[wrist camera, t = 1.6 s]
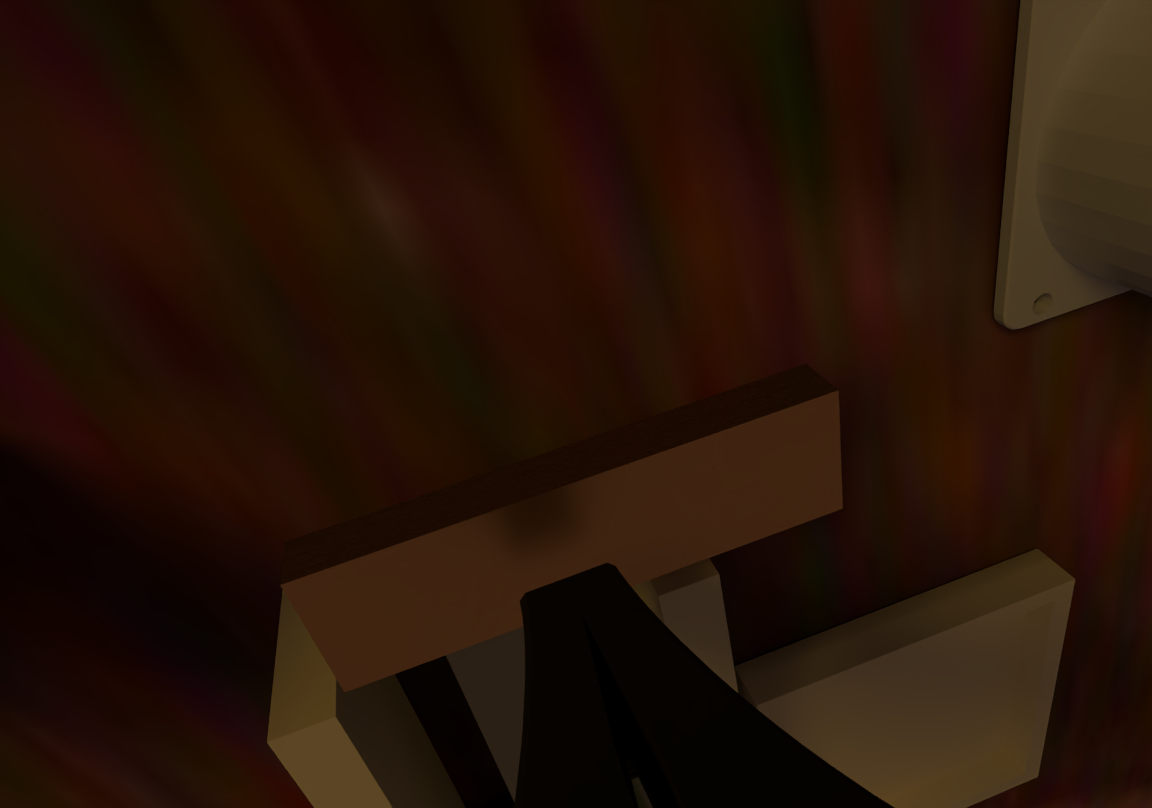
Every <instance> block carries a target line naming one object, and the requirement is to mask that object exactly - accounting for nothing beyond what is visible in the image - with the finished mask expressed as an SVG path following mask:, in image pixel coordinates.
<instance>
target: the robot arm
mask: <svg viewBox="0 0 1152 808" xmlns="http://www.w3.org/2000/svg"><path fill="white" fill-rule="evenodd" d="M1130 290H1135V291H1137V292H1140V293H1142V294H1145V295H1148V296H1150V297H1152V0H1021V1H1020V12H1019V24H1018V35H1017V47H1016V59H1015V70H1014V82H1013V93H1012V105H1011V117H1010V128H1009V140H1008V151H1007V163H1006V175H1005V186H1004V198H1003V209H1002V221H1001V232H1000V244H999V256H998V267H997V279H996V290H995V302H994V318H995V320H996V321H997V322H998V323H999V324H1001V325H1003V326H1005V327H1007V328H1009V329H1012V330H1015V329H1021V328H1024V327H1027V326H1029V325H1032V324H1035V323H1038V322H1041V321H1044V320H1047V319H1049V318H1052V317H1055V316H1058V315H1061V314H1064V313H1067V312H1070V311H1072V310H1075V309H1078V308H1081V307H1084V306H1087V305H1090V304H1092V303H1095V302H1098V301H1101V300H1104V299H1107V298H1110V297H1112V296H1115V295H1118V294H1121V293H1124V292H1127V291H1130ZM1037 298H1038V300H1037V301H1036V299H1037ZM1035 301H1036V302H1035ZM1034 302H1035V304H1034ZM520 606H521V611H522V618H523V628H524V641H525V690H524V710H523V730H522V742H521V751H520V760H519V769H518V778H517V787H516V795H515V804H514V808H639V807H638V803H637V799H636V796H635V792H634V788H633V785H632V781H631V777H630V774H629V770H628V766H627V762H626V759H625V755H624V751H623V748H622V744H623V746H624V748H625V750H626V752H627V754H628V757H629V759H630V761H631V763H632V765H633V767H634V769H635V771H636V773H637V776H638V778H639V780H640V782H641V784H642V786H643V788H644V790H645V793H646V795H647V797H648V799H649V801H650V803H651V805H652V807H653V808H895V807H893V806H891V805H890V804H888V803H887V802H885V801H883V800H882V799H880V798H879V797H877V796H875V795H874V794H872V793H871V792H869V791H868V790H866V789H865V788H863V787H862V786H861V785H859V784H858V783H856V782H855V781H853V780H852V779H850V778H849V777H847V776H846V775H845V774H843V773H842V772H840V771H839V770H837V769H836V768H834V767H833V766H831V765H830V764H829V763H827V762H826V761H824V760H823V759H822V758H820V757H819V756H818V755H816V754H815V753H813V752H812V751H811V750H809V749H808V748H807V747H805V746H804V745H803V744H801V743H800V742H798V741H797V740H796V739H794V738H793V737H792V736H791V735H789V734H788V733H787V732H785V731H784V730H783V729H781V728H780V727H779V726H778V725H776V724H775V723H774V722H773V721H771V720H770V719H769V718H768V717H766V716H765V715H764V714H763V713H761V712H760V711H759V710H758V709H756V708H755V707H754V706H753V705H752V704H751V703H749V702H748V701H747V700H746V699H745V698H743V697H742V696H741V695H740V694H739V693H737V692H736V691H735V690H734V689H733V688H731V687H730V686H729V685H728V684H727V683H726V682H725V681H724V680H722V679H721V678H720V677H719V676H718V675H717V674H716V673H715V672H713V671H712V670H711V669H710V668H709V667H708V666H707V665H706V664H705V663H704V662H703V661H702V660H701V659H700V658H699V657H697V656H696V655H695V654H694V653H693V652H692V651H691V650H690V649H689V648H688V647H687V646H686V645H685V644H684V643H683V642H682V641H681V640H680V639H679V638H678V637H677V636H676V635H675V634H674V633H673V632H672V631H671V630H670V629H669V628H668V627H667V626H666V625H665V624H664V623H663V622H662V621H661V620H660V619H659V618H658V617H657V616H656V615H655V613H654V612H653V611H652V610H651V609H650V608H649V607H648V606H647V605H646V604H645V602H644V601H643V600H642V599H641V598H640V597H639V596H638V594H637V593H636V592H635V591H634V590H633V588H632V587H631V586H630V585H629V583H628V582H627V581H626V579H625V578H624V577H623V576H622V574H621V573H620V571H619V570H618V568H617V567H616V566H614V565H612V564H609V563H605V564H602V565H599V566H597V567H594V568H591V569H588V570H586V571H583V572H580V573H578V574H575V575H572V576H569V577H567V578H564V579H561V580H559V581H556V582H553V583H550V584H548V585H545V586H542V587H540V588H537V589H534V590H531V591H529V592H526V593H525V594H524V595H523V597H522V598H521V600H520ZM621 742H622V744H621Z"/></svg>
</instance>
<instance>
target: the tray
mask: <svg viewBox="0 0 1152 808" xmlns="http://www.w3.org/2000/svg"><path fill="white" fill-rule="evenodd" d="M1074 584H1075V578H1073V577H1072V576H1071V575H1070V574H1068V573H1067V572H1066V571H1065V570H1063V569H1062V568H1061V567H1060V566H1058V565H1057V564H1056V563H1055V562H1054V561H1052V560H1051V559H1050V558H1049V557H1047V556H1046V555H1045V554H1044V553H1042V552H1041V551H1040V550H1039V549H1034V550H1032V551H1029V552H1027V553H1024V554H1022V555H1019V556H1016V557H1014V558H1011V559H1009V560H1006V561H1004V562H1001V563H998V564H996V565H993V566H991V567H988V568H986V569H983V570H980V571H978V572H975V573H973V574H970V575H968V576H965V577H962V578H960V579H957V580H955V581H952V582H950V583H947V584H944V585H942V586H939V587H937V588H934V589H932V590H929V591H927V592H924V593H921V594H919V595H916V596H914V597H911V598H909V599H906V600H903V601H901V602H898V603H896V604H893V605H891V606H888V607H885V608H883V609H880V610H878V611H875V612H873V613H870V614H867V615H865V616H862V617H860V618H857V619H855V620H852V621H849V622H847V623H844V624H842V625H839V626H837V627H834V628H831V629H829V630H826V631H824V632H821V633H819V634H816V635H813V636H811V637H808V638H806V639H803V640H801V641H798V642H795V643H793V644H790V645H788V646H785V647H783V648H780V649H778V650H775V651H772V652H770V653H767V654H765V655H762V656H760V657H757V658H754V659H752V660H749V661H747V662H744V663H742V664H739V665H736V666H734V669H735V675H736V681H737V688H738V693H739V694H740V695H741V696H742V697H743V698H745V699H746V700H747V701H748V702H749V703H751V704H752V705H753V706H754V707H755V708H756V709H758V710H759V711H760V712H761V713H763V714H764V715H765V716H766V717H768V718H769V719H770V720H771V721H773V722H774V723H775V724H776V725H778V726H779V727H780V728H781V729H783V730H784V731H785V732H787V733H788V734H789V735H791V736H792V737H793V738H794V739H796V740H797V741H798V742H800V743H801V744H803V745H804V746H805V747H807V748H808V749H809V750H811V751H812V752H813V753H815V754H816V755H818V756H819V757H820V758H822V759H823V760H824V761H826V762H827V763H829V764H830V765H831V766H833V767H834V768H836V769H837V770H839V771H840V772H842V773H843V774H845V775H846V776H847V777H849V778H850V779H852V780H853V781H855V782H856V783H858V784H859V785H861V786H862V787H863V788H865V789H866V790H868V791H869V792H871V793H872V794H874V795H875V796H877V797H879V798H880V799H882V800H883V801H885V802H887V803H888V804H890V805H891V806H893V807H895V808H966V807H969V806H971V805H973V804H976V803H978V802H980V801H983V800H985V799H987V798H990V797H992V796H994V795H997V794H999V793H1001V792H1004V791H1006V790H1008V789H1011V788H1013V787H1015V786H1017V785H1020V784H1022V783H1024V782H1027V781H1029V780H1031V779H1034V778H1036V777H1038V773H1039V768H1040V763H1041V758H1042V752H1043V747H1044V742H1045V736H1046V731H1047V726H1048V721H1049V715H1050V710H1051V705H1052V700H1053V694H1054V689H1055V684H1056V678H1057V673H1058V668H1059V663H1060V657H1061V652H1062V647H1063V642H1064V636H1065V631H1066V626H1067V620H1068V615H1069V610H1070V605H1071V599H1072V594H1073V589H1074Z"/></svg>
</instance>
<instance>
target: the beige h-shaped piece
mask: <svg viewBox="0 0 1152 808" xmlns="http://www.w3.org/2000/svg"><path fill="white" fill-rule="evenodd" d="M632 588H633V590H634V591H635V592H636V593H637V594H638V596H639V597H640V598H641V599H642V600H643V601H644V602H645V604H646V605H647V606H648V607H649V608H650V609H651V610H652V611H653V612H654V613H655V615H656V616H657V617H658V618H659V619H660V620H661V621H662V622H663V623H664V624H665V625H666V626H667V627H668V628H669V629H670V630H671V631H672V632H673V633H674V634H675V635H676V636H677V637H678V638H679V639H680V640H681V641H682V642H683V643H684V644H685V645H686V646H687V647H688V648H689V649H690V650H691V651H692V652H693V653H694V654H695V655H696V656H697V657H699V658H700V659H701V660H702V661H703V662H704V663H705V664H706V665H707V666H708V667H709V668H710V669H711V670H712V671H713V672H715V673H716V674H717V675H718V676H719V677H720V678H721V679H722V680H724V681H725V682H726V683H727V684H728V685H729V686H730V687H731V688H733V689H734V690H735V691H736V692H737V693H738V688H737V682H736V676H735V670H734V663H733V657H732V651H731V645H730V639H729V632H728V626H727V620H726V614H725V608H724V601H723V595H722V589H721V583H720V577H719V573H718V571H717V570H716V568H715V567H714V565H713V564H712V562H711V561H710V559H709V558H707V559H705V560H702V561H699V562H697V563H694V564H691V565H688V566H686V567H683V568H680V569H678V570H675V571H672V572H670V573H667V574H664V575H661V576H659V577H656V578H653V579H651V580H648V581H645V582H642V583H640V584H637V585H634V586H632ZM267 743H268V744H269V746H270V747H271V749H272V750H273V751H274V753H275V754H276V756H277V757H278V758H279V760H280V761H281V762H282V764H283V765H284V767H285V768H286V769H287V771H288V772H289V773H290V775H291V776H292V778H293V779H294V780H295V782H296V783H297V784H298V786H299V787H300V789H301V790H302V791H303V793H304V794H305V796H306V797H307V798H308V800H309V801H310V802H311V804H312V805H313V807H314V808H466V807H465V805H464V803H463V801H462V800H461V798H460V796H459V794H458V792H457V790H456V788H455V786H454V785H453V783H452V781H451V779H450V777H449V775H448V773H447V771H446V769H445V768H444V766H443V764H442V762H441V760H440V758H439V756H438V754H437V753H436V751H435V749H434V747H433V745H432V743H431V741H430V739H429V738H428V736H427V734H426V732H425V730H424V728H423V726H422V724H421V722H420V721H419V719H418V717H417V715H416V713H415V711H414V709H413V707H412V706H411V704H410V702H409V700H408V698H407V696H406V694H405V692H404V691H403V689H402V687H401V685H400V683H399V681H398V679H397V677H396V675H395V674H393V675H391V676H388V677H385V678H383V679H380V680H377V681H375V682H372V683H369V684H366V685H364V686H361V687H358V688H356V689H353V690H350V691H347V692H344V691H343V689H342V687H341V686H340V684H339V682H338V681H337V679H336V677H335V676H334V674H333V672H332V671H331V669H330V667H329V666H328V664H327V662H326V661H325V659H324V657H323V656H322V654H321V652H320V651H319V649H318V647H317V646H316V644H315V642H314V641H313V639H312V637H311V636H310V634H309V632H308V631H307V629H306V627H305V626H304V624H303V622H302V621H301V619H300V617H299V616H298V614H297V612H296V611H295V609H294V607H293V606H292V604H291V602H290V601H289V599H288V597H287V596H286V594H285V592H284V591H282V601H281V611H280V620H279V630H278V640H277V650H276V659H275V669H274V679H273V689H272V698H271V708H270V718H269V728H268V737H267Z"/></svg>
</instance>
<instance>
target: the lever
mask: <svg viewBox="0 0 1152 808" xmlns="http://www.w3.org/2000/svg"><path fill="white" fill-rule="evenodd" d="M840 509H843V499H842V471H841V443H840V415H839V390H838V389H836V388H835V387H834V386H833V385H831V384H830V383H829V382H828V381H827V380H825V379H824V378H823V377H822V376H820V375H819V374H818V373H817V372H816V371H814V370H813V369H812V368H811V367H809V366H808V365H807V364H804V365H801V366H798V367H795V368H792V369H789V370H786V371H783V372H780V373H777V374H774V375H772V376H769V377H766V378H763V379H760V380H757V381H754V382H751V383H748V384H745V385H742V386H739V387H736V388H734V389H731V390H728V391H725V392H722V393H719V394H716V395H713V396H710V397H707V398H704V399H701V400H699V401H696V402H693V403H690V404H687V405H684V406H681V407H678V408H675V409H672V410H669V411H666V412H663V413H661V414H658V415H655V416H652V417H649V418H646V419H643V420H640V421H637V422H634V423H631V424H628V425H626V426H623V427H620V428H617V429H614V430H611V431H608V432H605V433H602V434H599V435H596V436H593V437H590V438H588V439H585V440H582V441H579V442H576V443H573V444H570V445H567V446H564V447H561V448H558V449H555V450H553V451H550V452H547V453H544V454H541V455H538V456H535V457H532V458H529V459H526V460H523V461H520V462H518V463H515V464H512V465H509V466H506V467H503V468H500V469H497V470H494V471H491V472H488V473H485V474H482V475H480V476H477V477H474V478H471V479H468V480H465V481H462V482H459V483H456V484H453V485H450V486H447V487H445V488H442V489H439V490H436V491H433V492H430V493H427V494H424V495H421V496H418V497H415V498H412V499H409V500H407V501H404V502H401V503H398V504H395V505H392V506H389V507H386V508H383V509H380V510H377V511H374V512H372V513H369V514H366V515H363V516H360V517H357V518H354V519H351V520H348V521H345V522H342V523H339V524H336V525H334V526H331V527H328V528H325V529H322V530H319V531H316V532H313V533H310V534H307V535H304V536H301V537H299V538H296V539H293V540H290V541H287V542H285V544H284V554H283V563H282V572H281V582H280V586H281V587H282V589H283V591H284V592H285V594H286V596H287V597H288V599H289V601H290V602H291V604H292V606H293V607H294V609H295V611H296V612H297V614H298V616H299V617H300V619H301V621H302V622H303V624H304V626H305V627H306V629H307V631H308V632H309V634H310V636H311V637H312V639H313V641H314V642H315V644H316V646H317V647H318V649H319V651H320V652H321V654H322V656H323V657H324V659H325V661H326V662H327V664H328V666H329V667H330V669H331V671H332V672H333V674H334V676H335V677H336V679H337V681H338V682H339V684H340V686H341V687H342V689H343V691H344V692H347V691H350V690H353V689H356V688H358V687H361V686H364V685H366V684H369V683H372V682H375V681H377V680H380V679H383V678H385V677H388V676H391V675H393V674H396V673H399V672H402V671H404V670H407V669H410V668H412V667H415V666H418V665H421V664H423V663H426V662H429V661H431V660H434V659H437V658H439V657H442V656H445V655H446V657H447V659H448V661H449V663H450V666H451V668H452V670H453V672H454V674H455V676H456V678H457V681H458V683H459V685H460V687H461V689H462V691H463V693H464V695H465V698H466V700H467V702H468V704H469V706H470V708H471V710H472V713H473V715H474V717H475V719H476V721H477V723H478V725H479V728H480V730H481V732H482V734H483V736H484V738H485V740H486V743H487V745H488V747H489V749H490V751H491V753H492V755H493V757H494V760H495V762H496V764H497V766H498V768H499V770H500V772H501V775H502V777H503V779H504V781H505V783H506V785H507V787H508V790H509V792H510V794H511V796H512V798H513V800H514V802H515V795H516V787H517V778H518V769H519V760H520V751H521V742H522V730H523V710H524V690H525V641H524V628H523V618H522V611H521V606H520V600H521V598H522V597H523V595H524V594H525V593H526V592H529V591H531V590H534V589H537V588H540V587H542V586H545V585H548V584H550V583H553V582H556V581H559V580H561V579H564V578H567V577H569V576H572V575H575V574H578V573H580V572H583V571H586V570H588V569H591V568H594V567H597V566H599V565H602V564H605V563H609V564H612V565H614V566H616V567H617V568H618V570H619V571H620V573H621V574H622V576H623V577H624V578H625V579H626V581H627V582H628V583H629V585H630V586H631V587H632V586H634V585H637V584H640V583H642V582H645V581H648V580H651V579H653V578H656V577H659V576H661V575H664V574H667V573H670V572H672V571H675V570H678V569H680V568H683V567H686V566H688V565H691V564H694V563H697V562H699V561H702V560H705V559H707V558H710V557H713V556H716V555H718V554H721V553H724V552H726V551H729V550H732V549H734V548H737V547H740V546H743V545H745V544H748V543H751V542H753V541H756V540H759V539H762V538H764V537H767V536H770V535H772V534H775V533H778V532H781V531H783V530H786V529H789V528H791V527H794V526H797V525H799V524H802V523H805V522H808V521H810V520H813V519H816V518H818V517H821V516H824V515H827V514H829V513H832V512H835V511H837V510H840ZM626 762H627V766H628V770H629V774H630V777H631V781H632V785H633V788H634V792H635V796H636V799H637V803H638V807H639V808H653V807H652V805H651V803H650V801H649V799H648V797H647V795H646V793H645V790H644V788H643V786H642V784H641V782H640V780H639V778H638V776H637V773H636V771H635V769H634V767H633V765H632V763H631V761H630V760H627V761H626ZM509 808H514V806H512V807H509Z"/></svg>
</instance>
